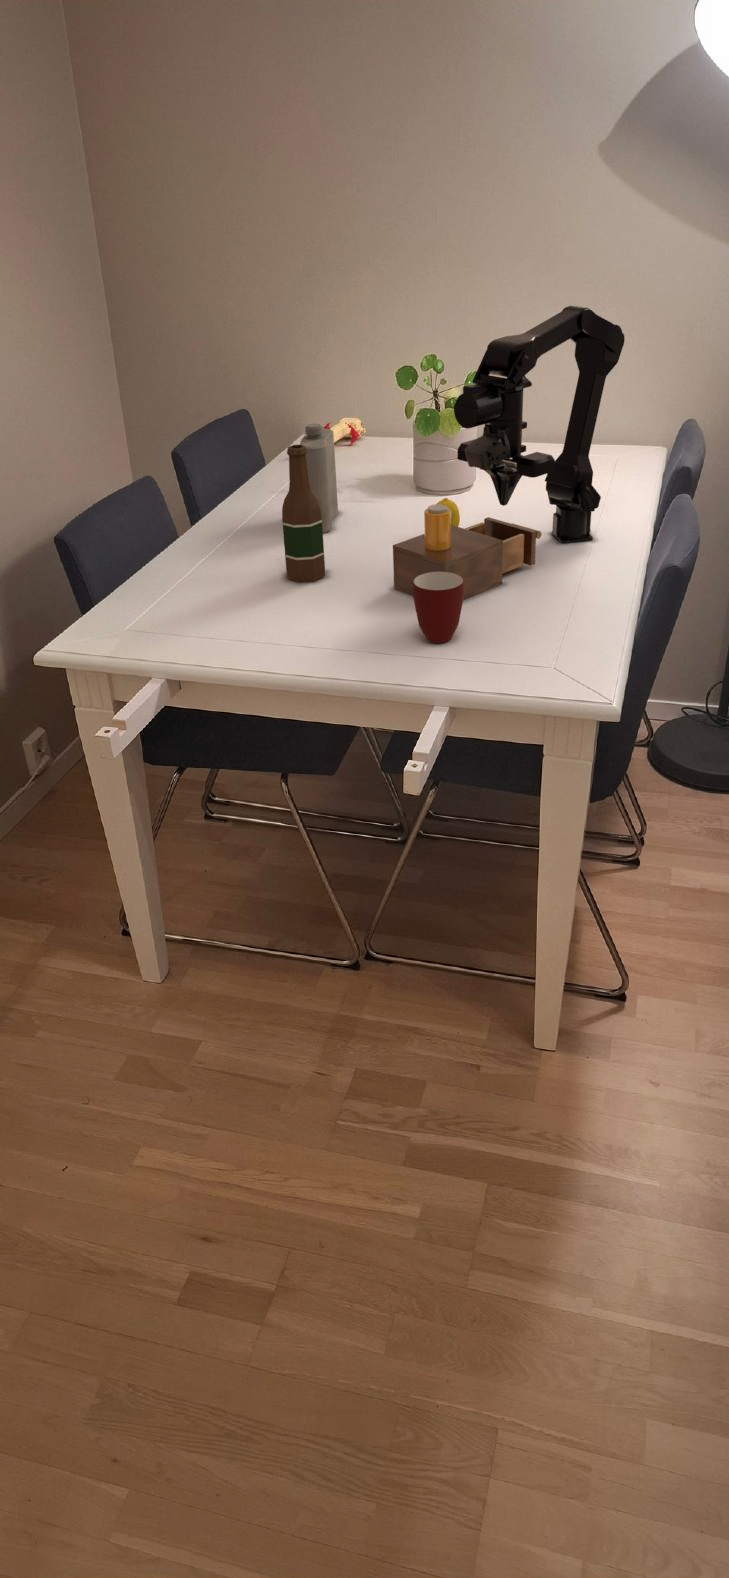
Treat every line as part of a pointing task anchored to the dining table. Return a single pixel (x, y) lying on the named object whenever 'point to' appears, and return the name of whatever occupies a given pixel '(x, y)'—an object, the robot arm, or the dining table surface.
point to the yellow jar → (437, 527)
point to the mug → (438, 604)
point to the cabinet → (451, 561)
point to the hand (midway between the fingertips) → (503, 504)
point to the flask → (322, 470)
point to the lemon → (452, 511)
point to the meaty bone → (347, 429)
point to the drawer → (511, 541)
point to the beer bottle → (302, 523)
